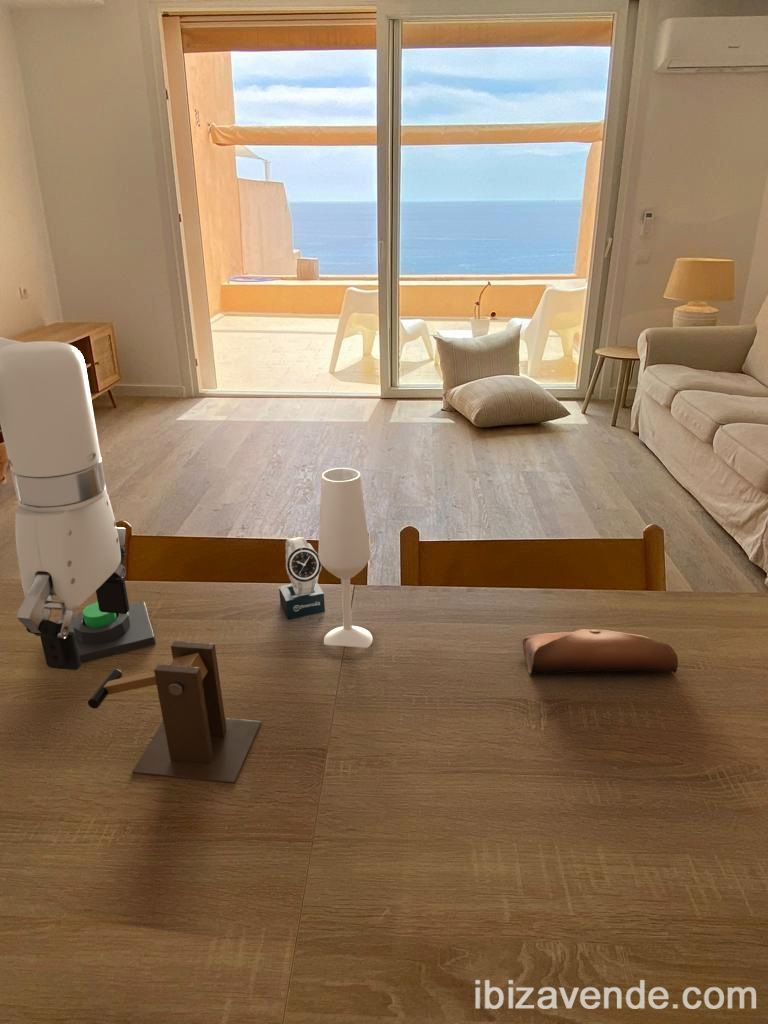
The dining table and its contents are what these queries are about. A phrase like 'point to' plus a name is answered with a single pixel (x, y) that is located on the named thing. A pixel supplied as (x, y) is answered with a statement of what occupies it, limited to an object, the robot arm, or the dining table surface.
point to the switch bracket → (195, 724)
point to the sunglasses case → (596, 652)
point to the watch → (301, 580)
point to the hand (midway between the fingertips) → (91, 637)
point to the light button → (97, 616)
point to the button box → (113, 634)
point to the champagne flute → (344, 545)
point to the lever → (139, 679)
